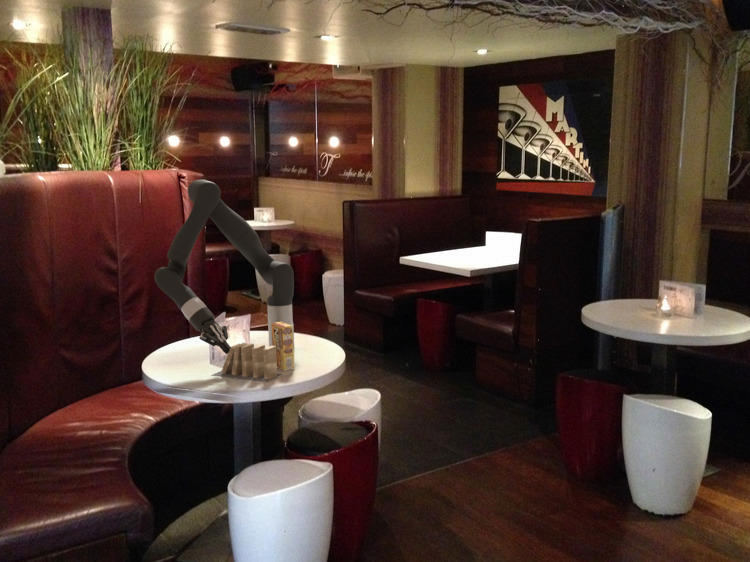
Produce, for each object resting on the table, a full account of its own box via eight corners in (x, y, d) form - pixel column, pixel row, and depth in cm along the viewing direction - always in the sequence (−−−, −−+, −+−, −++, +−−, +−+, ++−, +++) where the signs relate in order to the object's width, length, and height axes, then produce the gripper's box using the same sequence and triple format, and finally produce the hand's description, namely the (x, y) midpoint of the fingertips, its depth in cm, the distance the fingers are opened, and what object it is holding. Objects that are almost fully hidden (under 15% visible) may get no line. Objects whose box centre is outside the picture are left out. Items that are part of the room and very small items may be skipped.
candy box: (295, 369, 244) (293, 325, 242) (283, 371, 242) (282, 327, 240) (283, 364, 252) (281, 321, 249) (272, 365, 249) (270, 322, 247)
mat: (228, 368, 247) (228, 367, 247) (283, 375, 238) (283, 374, 238) (210, 376, 238) (210, 375, 238) (267, 383, 229) (267, 382, 229)
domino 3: (242, 376, 235) (241, 346, 234) (251, 372, 240) (249, 343, 238) (246, 377, 235) (245, 347, 233) (255, 373, 239) (253, 343, 238)
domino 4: (253, 377, 234) (252, 348, 232) (261, 373, 238) (260, 344, 237) (257, 378, 233) (256, 348, 231) (266, 374, 237) (264, 344, 236)
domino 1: (221, 371, 239) (231, 346, 236) (229, 368, 243) (239, 343, 240) (224, 374, 238) (234, 349, 235) (233, 370, 243) (243, 345, 240)
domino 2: (231, 374, 237) (235, 345, 235) (240, 370, 242) (243, 342, 239) (235, 375, 236) (239, 347, 234) (244, 371, 241) (247, 343, 239)
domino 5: (264, 379, 232) (263, 349, 230) (273, 375, 236) (271, 345, 235) (268, 379, 231) (267, 349, 230) (277, 375, 236) (276, 346, 234)
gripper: (190, 310, 235) (223, 349, 232) (215, 303, 247) (247, 340, 244) (178, 324, 238) (211, 364, 235) (203, 317, 250) (234, 354, 247)
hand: (229, 352), depth 239 cm, fingers closed
